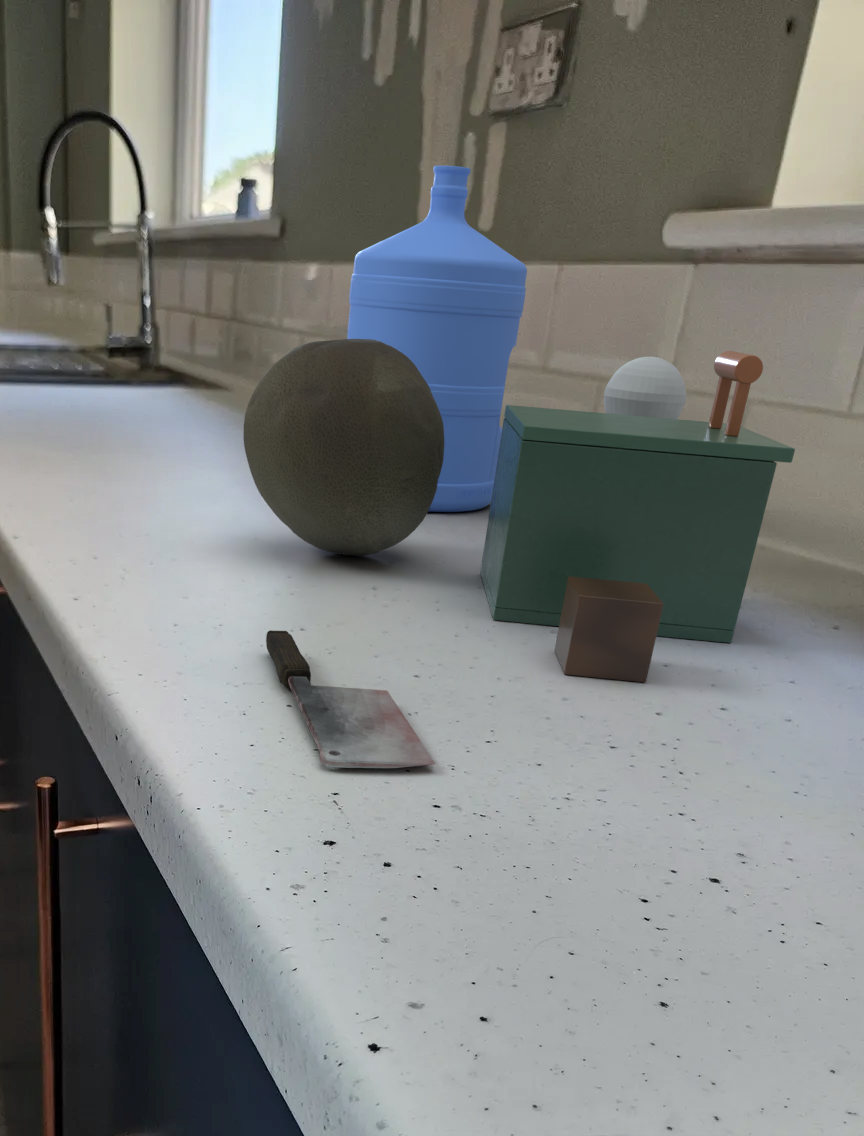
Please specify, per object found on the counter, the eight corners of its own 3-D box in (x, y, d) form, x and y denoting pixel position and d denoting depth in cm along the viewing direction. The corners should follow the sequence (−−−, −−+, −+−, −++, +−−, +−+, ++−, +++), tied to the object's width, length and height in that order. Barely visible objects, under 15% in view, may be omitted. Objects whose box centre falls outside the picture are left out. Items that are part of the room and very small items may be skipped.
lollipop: (604, 545, 94) (642, 353, 88) (665, 560, 90) (710, 361, 84) (559, 551, 91) (595, 352, 84) (621, 567, 87) (664, 360, 80)
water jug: (421, 520, 99) (468, 154, 87) (297, 488, 109) (324, 158, 97) (525, 506, 109) (580, 177, 97) (403, 479, 119) (439, 178, 107)
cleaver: (439, 754, 47) (322, 753, 46) (435, 777, 47) (319, 776, 47) (354, 629, 61) (263, 627, 60) (351, 648, 62) (261, 646, 61)
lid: (733, 436, 76) (753, 350, 74) (792, 463, 65) (818, 362, 62) (503, 416, 77) (516, 331, 75) (521, 439, 66) (538, 340, 63)
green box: (684, 592, 81) (721, 436, 76) (731, 643, 69) (777, 462, 65) (480, 573, 82) (503, 417, 77) (493, 620, 70) (521, 440, 66)
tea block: (631, 658, 65) (647, 583, 63) (646, 683, 61) (664, 603, 59) (554, 651, 65) (567, 575, 63) (563, 674, 61) (579, 595, 59)
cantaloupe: (345, 528, 93) (365, 332, 86) (469, 568, 83) (501, 350, 76) (203, 540, 85) (213, 326, 79) (320, 586, 75) (342, 344, 69)
